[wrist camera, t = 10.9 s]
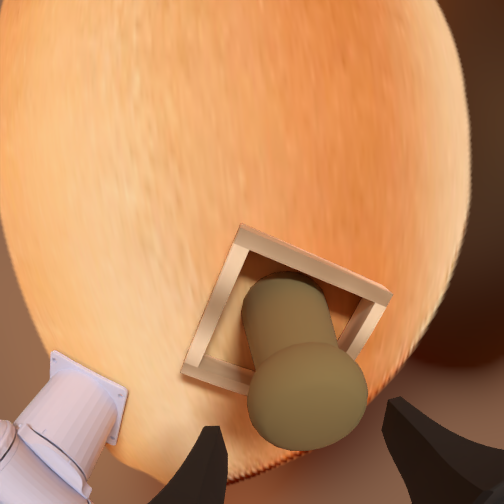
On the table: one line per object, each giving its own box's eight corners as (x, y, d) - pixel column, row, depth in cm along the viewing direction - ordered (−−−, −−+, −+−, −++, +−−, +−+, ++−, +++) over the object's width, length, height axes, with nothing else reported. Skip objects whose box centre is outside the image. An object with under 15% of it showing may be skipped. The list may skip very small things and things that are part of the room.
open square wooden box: (312, 398, 22) (316, 414, 20) (185, 357, 21) (180, 372, 19) (381, 284, 20) (393, 294, 18) (241, 222, 19) (240, 227, 17)
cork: (240, 348, 21) (236, 469, 10) (242, 270, 20) (236, 367, 9) (321, 348, 21) (366, 459, 11) (331, 271, 20) (405, 358, 9)
